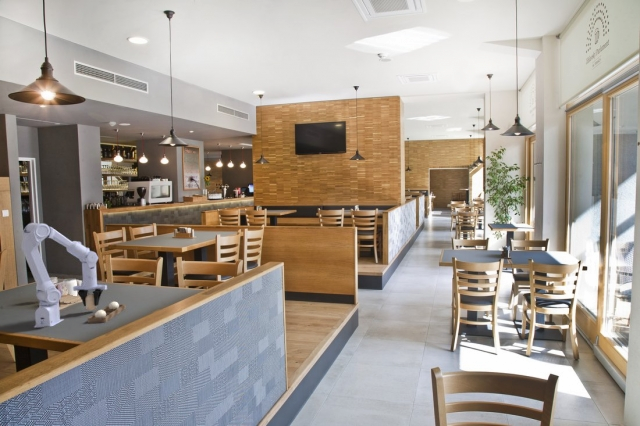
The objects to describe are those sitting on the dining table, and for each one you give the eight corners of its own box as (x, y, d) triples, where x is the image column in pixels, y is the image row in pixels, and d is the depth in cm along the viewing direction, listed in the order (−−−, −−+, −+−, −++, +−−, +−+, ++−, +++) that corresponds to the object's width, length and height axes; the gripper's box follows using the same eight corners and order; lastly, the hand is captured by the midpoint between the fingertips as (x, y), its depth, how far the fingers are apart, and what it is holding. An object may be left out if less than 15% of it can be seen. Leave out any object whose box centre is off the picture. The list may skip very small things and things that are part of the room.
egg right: (116, 312, 205) (116, 302, 205) (107, 312, 205) (106, 303, 204) (120, 309, 209) (120, 300, 209) (111, 309, 209) (110, 300, 209)
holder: (105, 323, 190) (105, 317, 190) (87, 324, 190) (87, 318, 189) (125, 309, 211) (125, 304, 211) (109, 310, 211) (109, 304, 211)
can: (71, 304, 223) (70, 280, 222) (60, 303, 225) (59, 280, 224) (80, 300, 230) (79, 278, 229) (70, 300, 231) (68, 277, 230)
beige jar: (93, 310, 204) (93, 295, 203) (84, 310, 203) (83, 295, 203) (98, 307, 208) (97, 292, 208) (88, 307, 208) (88, 293, 207)
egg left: (103, 321, 191) (103, 311, 191) (93, 321, 191) (92, 311, 191) (108, 318, 196) (107, 308, 195) (98, 318, 196) (97, 308, 195)
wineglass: (56, 298, 235) (54, 276, 235) (61, 300, 231) (59, 277, 230) (41, 301, 230) (40, 278, 229) (46, 303, 226) (45, 280, 225)
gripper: (109, 274, 209) (110, 302, 210) (78, 275, 208) (79, 303, 209) (102, 277, 202) (104, 306, 203) (70, 278, 201) (71, 307, 202)
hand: (91, 305), depth 206 cm, fingers closed on beige jar, 4 cm apart
